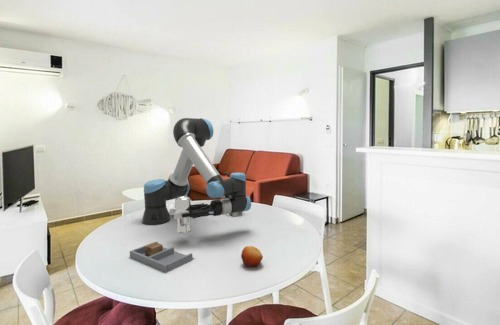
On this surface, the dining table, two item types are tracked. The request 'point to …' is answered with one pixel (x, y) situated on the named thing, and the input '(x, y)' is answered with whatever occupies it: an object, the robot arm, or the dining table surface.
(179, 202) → the beer glass
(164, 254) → the tray
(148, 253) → the walnut block
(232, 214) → the coffee box
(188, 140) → the robot arm
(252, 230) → the dining table surface
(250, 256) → the fruit
